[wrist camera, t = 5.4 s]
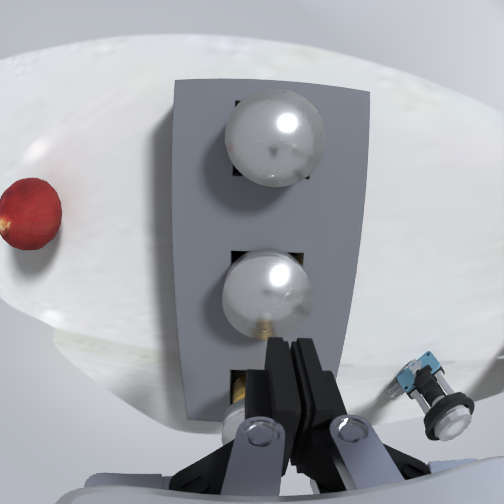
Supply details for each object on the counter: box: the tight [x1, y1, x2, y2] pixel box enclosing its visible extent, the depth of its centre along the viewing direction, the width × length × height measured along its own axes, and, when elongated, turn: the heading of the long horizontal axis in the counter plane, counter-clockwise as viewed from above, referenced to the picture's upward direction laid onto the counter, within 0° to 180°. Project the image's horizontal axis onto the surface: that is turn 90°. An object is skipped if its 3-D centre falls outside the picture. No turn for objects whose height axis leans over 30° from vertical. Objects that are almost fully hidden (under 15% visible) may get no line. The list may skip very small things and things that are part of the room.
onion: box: [0, 178, 62, 250], centre depth 21 cm, size 6×6×8 cm
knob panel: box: [172, 79, 370, 422], centre depth 24 cm, size 13×28×4 cm, turn 178°
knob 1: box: [222, 372, 247, 446], centre depth 23 cm, size 6×6×6 cm
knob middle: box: [222, 248, 313, 340], centre depth 23 cm, size 6×6×6 cm
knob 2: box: [225, 88, 326, 187], centre depth 20 cm, size 6×6×6 cm
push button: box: [388, 351, 474, 441], centre depth 26 cm, size 7×5×10 cm
